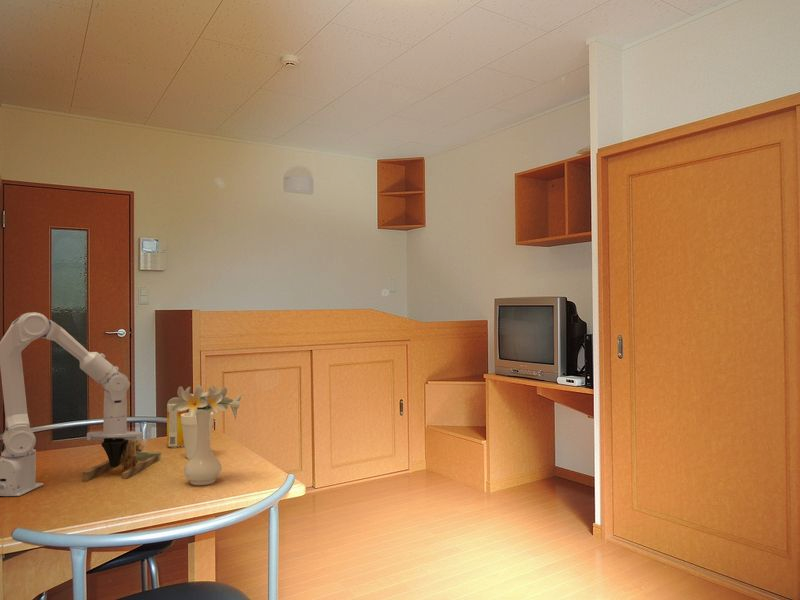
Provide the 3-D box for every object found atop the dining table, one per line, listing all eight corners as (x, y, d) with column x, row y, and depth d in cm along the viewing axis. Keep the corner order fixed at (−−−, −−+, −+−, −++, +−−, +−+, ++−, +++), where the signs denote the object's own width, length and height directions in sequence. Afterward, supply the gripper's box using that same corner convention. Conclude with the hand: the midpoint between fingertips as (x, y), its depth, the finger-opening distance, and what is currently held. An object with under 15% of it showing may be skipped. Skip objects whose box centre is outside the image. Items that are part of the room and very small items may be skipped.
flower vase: (246, 483, 151) (246, 385, 151) (169, 493, 143) (169, 390, 143) (237, 471, 162) (237, 380, 163) (165, 479, 154) (166, 384, 155)
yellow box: (189, 444, 196) (189, 399, 197) (183, 448, 190) (183, 401, 191) (170, 444, 196) (171, 399, 196) (164, 448, 190) (164, 402, 190)
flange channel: (123, 481, 153) (123, 471, 153) (82, 480, 153) (82, 471, 153) (160, 459, 176) (160, 451, 176) (125, 459, 176) (125, 451, 176)
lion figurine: (144, 471, 163) (144, 438, 163) (123, 474, 160) (123, 440, 160) (136, 460, 175) (136, 429, 175) (116, 462, 172) (116, 431, 172)
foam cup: (197, 452, 185) (197, 410, 185) (219, 455, 181) (220, 412, 181) (173, 458, 177) (174, 415, 177) (196, 462, 173) (196, 417, 173)
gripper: (148, 413, 163) (148, 462, 163) (96, 413, 164) (96, 462, 164) (136, 418, 156) (135, 469, 156) (82, 418, 157) (82, 469, 156)
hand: (114, 466), depth 159 cm, fingers closed
